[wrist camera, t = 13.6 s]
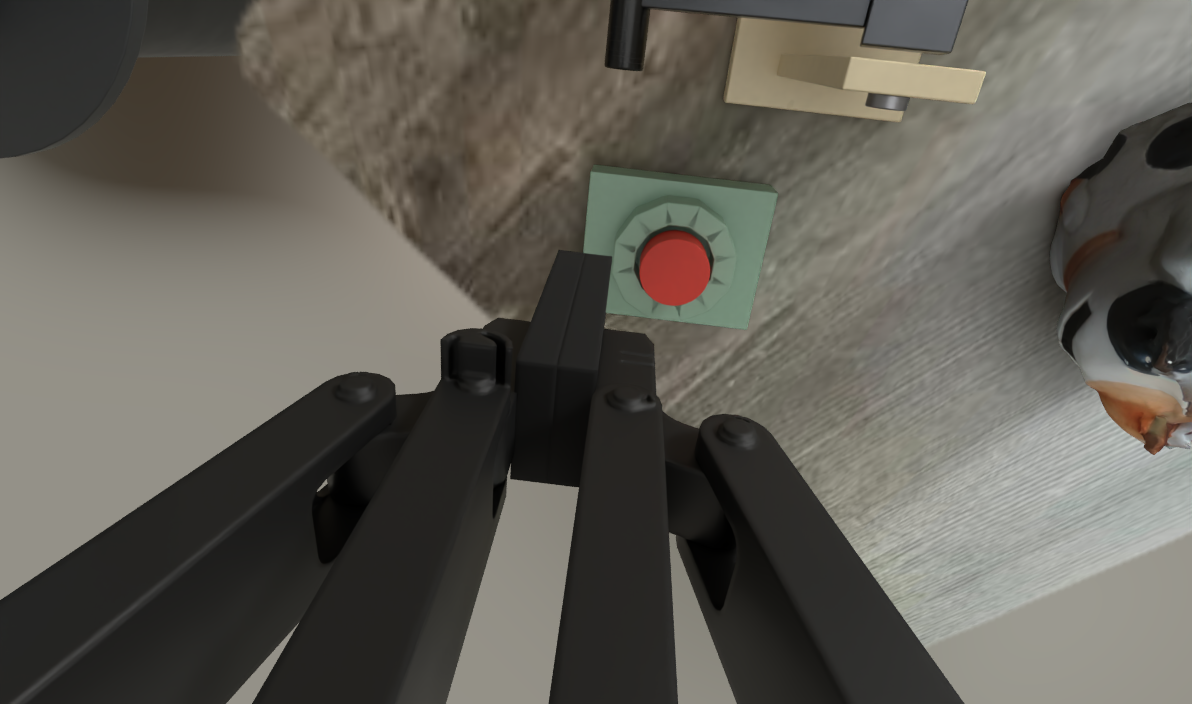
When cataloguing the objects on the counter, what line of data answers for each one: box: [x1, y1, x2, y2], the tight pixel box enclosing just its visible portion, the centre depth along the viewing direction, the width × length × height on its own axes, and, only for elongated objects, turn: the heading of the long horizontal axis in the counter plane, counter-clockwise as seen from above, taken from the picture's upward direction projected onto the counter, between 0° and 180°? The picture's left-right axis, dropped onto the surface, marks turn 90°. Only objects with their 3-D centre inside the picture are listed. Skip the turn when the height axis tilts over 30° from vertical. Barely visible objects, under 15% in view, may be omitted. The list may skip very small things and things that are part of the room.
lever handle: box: [605, 0, 968, 71], centre depth 22 cm, size 12×6×2 cm, turn 84°
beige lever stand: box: [723, 17, 986, 122], centre depth 25 cm, size 9×8×13 cm
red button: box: [639, 230, 710, 306], centre depth 32 cm, size 4×4×2 cm
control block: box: [583, 165, 778, 330], centre depth 34 cm, size 10×8×4 cm
